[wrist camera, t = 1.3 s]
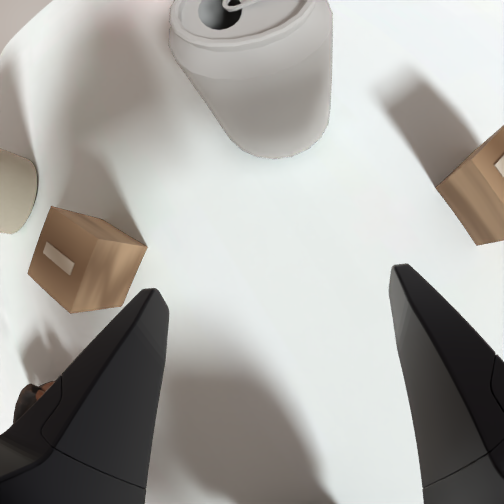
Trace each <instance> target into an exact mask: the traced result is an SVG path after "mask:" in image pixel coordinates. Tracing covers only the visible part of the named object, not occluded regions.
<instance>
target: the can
mask: <svg viewBox="0 0 504 504" xmlns="http://www.w3.org/2000/svg"><path fill="white" fill-rule="evenodd" d="M169 22H170V24H171V28H170V30H169V47H170V49H171V51H172V53H173V56H174V58H175V60H176V61H177V63H178V64H179V66H180V67H181V68H182V70H183V71H184V73H185V74H186V75H187V77H188V78H189V80H190V81H191V83H192V84H193V85H194V87H195V88H196V90H197V91H198V93H199V94H200V95H201V97H202V98H203V100H204V101H205V103H206V104H207V106H208V107H209V108H210V110H211V111H212V113H213V114H214V116H215V117H216V119H217V120H218V122H219V123H220V125H221V126H222V128H223V129H224V131H225V132H226V133H227V135H228V136H229V138H230V139H231V140H232V141H233V142H234V143H235V144H236V145H237V146H238V147H239V148H240V149H241V150H243V151H245V152H247V153H249V154H252V155H254V156H256V157H261V158H269V159H279V158H285V157H292V156H294V155H297V154H299V153H301V152H303V151H305V150H307V149H309V148H310V147H311V146H312V145H313V144H314V143H316V142H317V141H318V140H319V139H320V138H321V137H322V135H323V133H324V131H325V129H326V127H327V126H328V123H329V116H330V106H331V83H332V47H333V13H332V11H331V8H330V6H329V4H328V1H327V0H174V2H173V4H172V6H171V8H170V18H169Z"/></svg>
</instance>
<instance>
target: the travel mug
mask: <svg viewBox="0 0 504 504" xmlns="http://www.w3.org/2000/svg"><path fill="white" fill-rule="evenodd" d="M36 191H37V173H36V169H35V166H34V164H33V163H32V162H31V161H30V160H28V159H26V158H24V157H21V156H18V155H16V154H13V153H11V152H8V151H6V150H3V149H1V148H0V233H7V234H13V233H15V232H17V231H18V230H19V229H21V228H22V226H23V225H24V224H25V222H26V221H27V219H28V217H29V215H30V213H31V210H32V208H33V205H34V201H35V197H36Z"/></svg>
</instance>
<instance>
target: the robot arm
mask: <svg viewBox="0 0 504 504" xmlns="http://www.w3.org/2000/svg"><path fill="white" fill-rule="evenodd" d="M389 298H390V304H391V310H392V317H393V323H394V330H395V337H396V344H397V350H398V355H399V359H400V363H401V367H402V372H403V376H404V380H405V385H406V390H407V394H408V399H409V404H410V409H411V414H412V420H413V425H414V431H415V437H416V443H417V449H418V456H419V463H420V471H421V479H422V487H423V498H424V504H504V361H503V360H502V359H501V358H500V357H499V356H498V355H495V351H494V350H493V349H492V348H491V347H490V346H489V345H488V344H487V342H486V341H485V340H484V339H483V338H482V337H481V336H480V335H479V334H478V333H477V332H476V331H475V329H474V328H473V327H472V326H471V325H470V324H469V323H468V322H467V321H466V320H465V319H464V318H463V317H462V316H461V315H460V314H459V313H458V312H457V311H456V310H455V309H454V308H453V307H452V306H451V305H450V304H449V303H448V302H447V301H446V300H445V299H444V298H443V297H442V296H441V295H440V294H439V293H438V292H437V291H436V290H435V289H434V288H433V287H432V286H431V285H430V284H429V283H428V282H427V281H426V280H425V279H424V278H423V277H422V276H421V275H420V274H419V273H418V272H417V271H415V270H414V269H413V268H412V267H411V266H410V265H409V264H398V265H393V266H392V269H391V275H390V283H389ZM168 324H169V309H168V306H167V304H166V303H165V301H164V299H163V297H162V296H161V294H160V292H159V291H158V290H157V289H156V288H148V289H143V290H141V291H140V292H139V293H138V294H137V295H136V296H135V297H134V298H133V299H132V300H131V301H130V302H129V303H128V304H127V305H126V306H125V307H124V308H123V309H122V310H121V311H120V313H119V314H118V315H117V316H116V317H115V318H114V319H113V320H112V321H111V322H110V323H109V324H108V325H107V326H106V327H105V328H104V329H103V330H102V331H101V332H100V333H99V334H98V335H97V337H96V338H95V339H94V340H93V341H92V342H91V343H90V344H89V345H88V346H87V347H86V348H85V349H84V350H83V352H82V353H81V354H80V355H79V356H78V357H77V358H76V359H75V360H74V361H73V362H72V363H71V365H70V366H69V367H68V368H67V369H66V370H65V371H64V372H63V373H62V376H60V377H59V378H58V379H57V380H56V381H55V382H54V383H53V384H52V385H51V387H50V388H49V389H48V390H47V391H46V392H45V393H44V394H43V395H42V396H41V397H40V398H39V399H38V400H37V401H36V402H35V403H34V404H33V405H32V406H31V407H30V408H29V409H28V410H27V411H26V412H25V413H24V414H23V415H22V416H21V417H20V418H19V419H18V420H17V421H16V422H15V423H14V424H13V425H12V426H11V427H10V428H9V429H8V430H7V431H6V432H4V433H3V434H1V435H0V504H145V495H146V484H147V476H148V468H149V461H150V453H151V446H152V439H153V433H154V426H155V420H156V413H157V407H158V401H159V395H160V389H161V384H162V378H163V372H164V367H165V359H166V348H167V335H168Z"/></svg>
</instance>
